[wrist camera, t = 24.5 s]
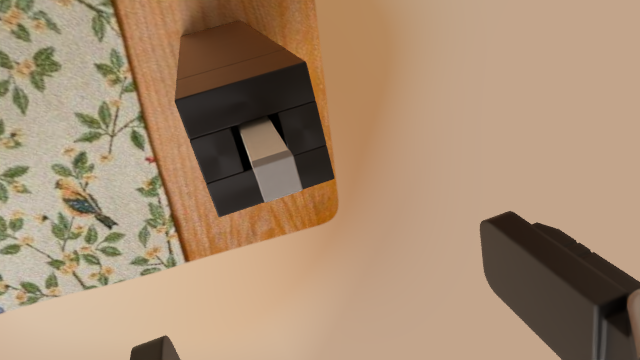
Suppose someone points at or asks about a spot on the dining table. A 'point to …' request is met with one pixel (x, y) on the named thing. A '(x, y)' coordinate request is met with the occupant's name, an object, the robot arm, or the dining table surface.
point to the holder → (246, 109)
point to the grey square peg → (270, 159)
